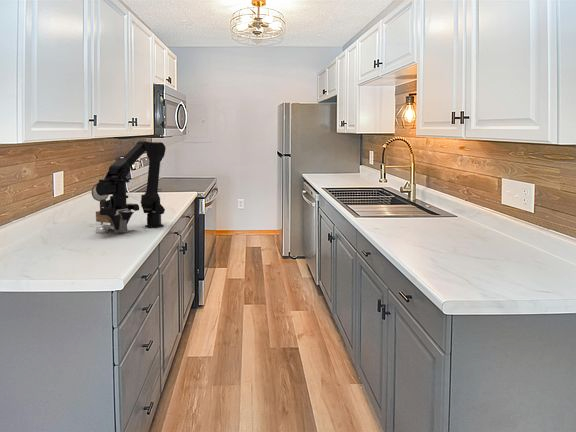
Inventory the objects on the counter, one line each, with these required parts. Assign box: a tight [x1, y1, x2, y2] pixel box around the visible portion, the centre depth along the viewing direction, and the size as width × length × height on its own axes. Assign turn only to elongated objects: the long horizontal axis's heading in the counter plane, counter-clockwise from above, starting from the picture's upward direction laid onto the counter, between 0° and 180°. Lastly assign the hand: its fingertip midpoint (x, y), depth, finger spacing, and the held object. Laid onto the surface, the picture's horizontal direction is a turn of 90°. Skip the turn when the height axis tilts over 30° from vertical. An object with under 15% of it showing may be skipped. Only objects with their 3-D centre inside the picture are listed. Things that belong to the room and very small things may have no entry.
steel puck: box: [95, 225, 109, 234], centre depth 239 cm, size 5×5×2 cm
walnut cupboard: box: [95, 210, 122, 226], centre depth 246 cm, size 11×8×9 cm
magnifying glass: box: [91, 183, 110, 225], centre depth 257 cm, size 9×2×20 cm, turn 132°
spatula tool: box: [102, 219, 128, 234], centre depth 240 cm, size 4×13×5 cm, turn 57°
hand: (120, 228), depth 237 cm, fingers closed on spatula tool, 4 cm apart
